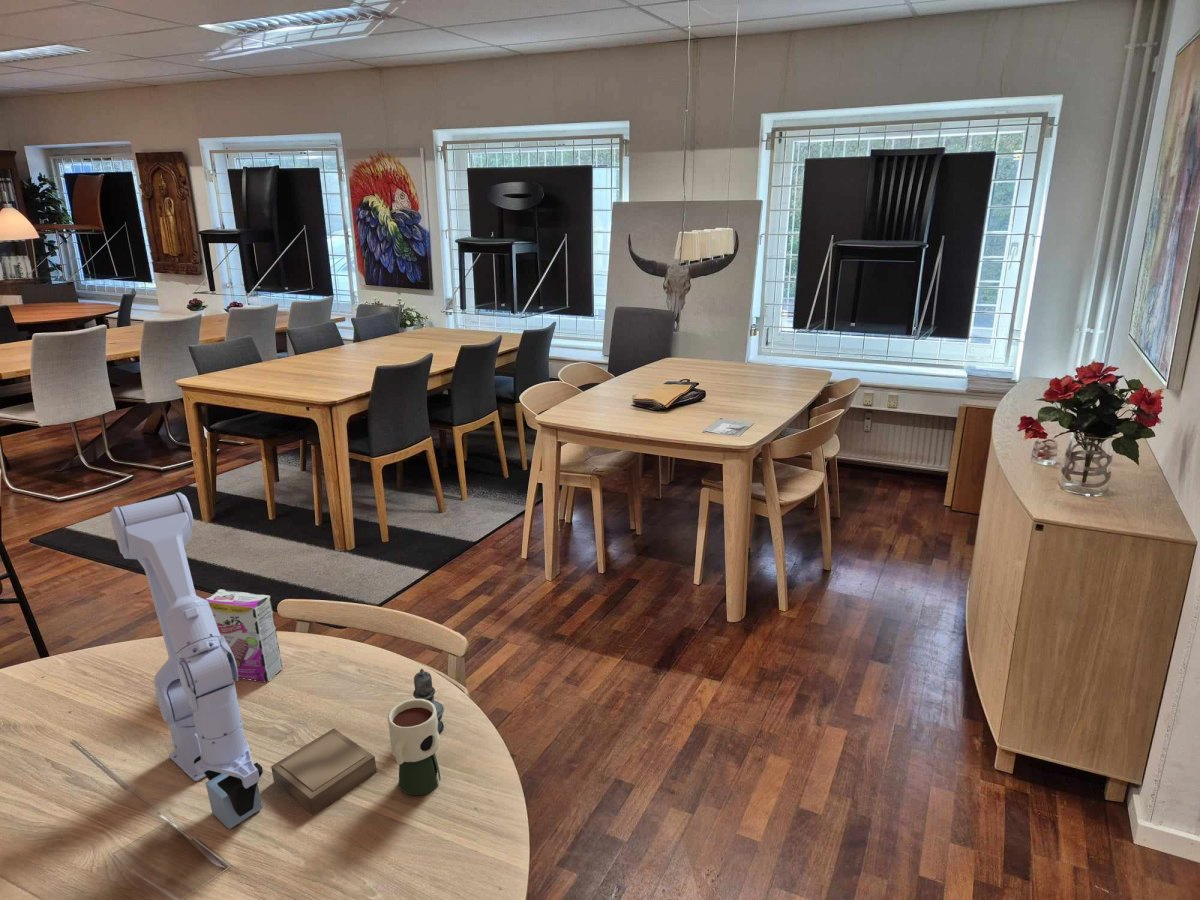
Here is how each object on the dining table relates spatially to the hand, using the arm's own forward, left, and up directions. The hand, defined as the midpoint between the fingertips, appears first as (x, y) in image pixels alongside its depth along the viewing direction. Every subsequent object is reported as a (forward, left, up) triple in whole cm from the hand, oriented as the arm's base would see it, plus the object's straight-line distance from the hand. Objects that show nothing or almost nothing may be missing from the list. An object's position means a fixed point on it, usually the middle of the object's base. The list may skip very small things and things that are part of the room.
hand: (235, 802), depth 110 cm
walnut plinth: (+4, +12, -2) cm, 13 cm away
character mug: (+17, +20, -2) cm, 26 cm away
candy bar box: (-32, +19, -2) cm, 37 cm away
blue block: (0, 0, -1) cm, 1 cm away
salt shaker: (+8, +29, -2) cm, 30 cm away
